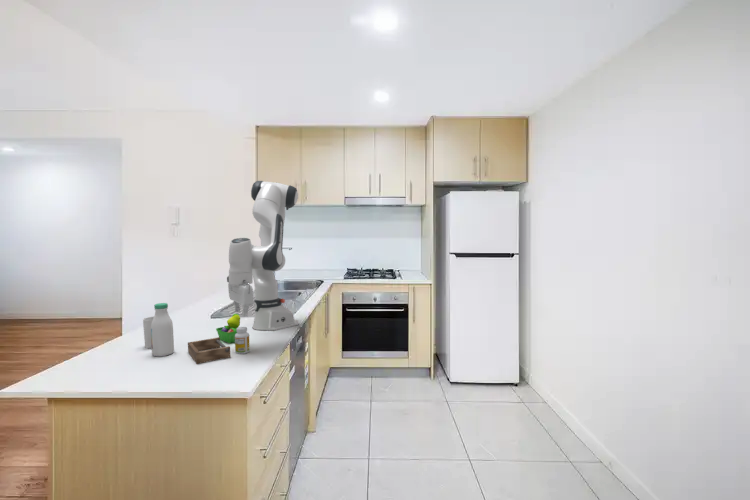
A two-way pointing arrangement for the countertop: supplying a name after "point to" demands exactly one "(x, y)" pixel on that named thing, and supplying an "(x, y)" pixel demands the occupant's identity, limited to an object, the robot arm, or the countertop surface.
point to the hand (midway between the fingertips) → (241, 313)
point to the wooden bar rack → (208, 354)
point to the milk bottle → (162, 331)
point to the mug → (147, 331)
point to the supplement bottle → (242, 340)
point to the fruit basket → (229, 329)
